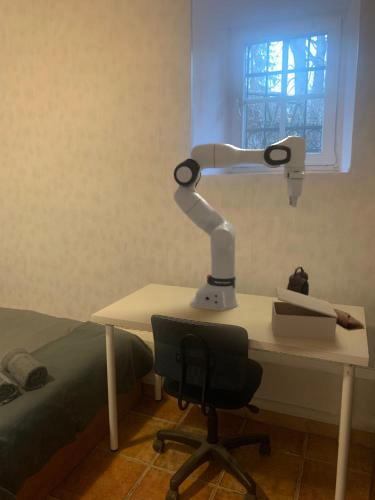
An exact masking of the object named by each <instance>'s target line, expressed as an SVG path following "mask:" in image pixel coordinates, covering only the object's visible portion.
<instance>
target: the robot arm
mask: <svg viewBox="0 0 375 500" xmlns="http://www.w3.org/2000/svg"><path fill="white" fill-rule="evenodd" d="M306 158H307V144H306V139H304V137H302V136H299V135H289V136H287V137H285V138H284V139H282V140H280V141H279V142H275V143H272V144H269V145H268V146H267V147H266V148H264V149H244V148H243V149H242V148H239V147H236V146H235V145H232V144H228V143H222V142H221V143H219V142H210V143H203V144H202V143H201V144H198V145H195V146H193V148H192V149H191V151H190V157H189V158H187V159H184V161H182V162H179V164H178V165H176V167H175V168H174V171H173V179H174V181H175V183H177V185H178V188H177V189H175V191H174V194H173V199H174V201H175V203H176V204H177V206H178V207H179V209H180V210H181V211H182V213H184V215H186V217H188V218H189V220H191V222H193V223H194V224H195V225H196V227H198V228H199V229H200V230H202V231H203V232H204V233H206V235H208V236H209V237H210V257H211V267H210V268H211V272H210V273H211V274H210V273H208V274H207V275H206V283H205V284H203V285H202V286H201V287H200V288H198V289H197V291H196V293H195V297H193V298H192V299H191V300H190V303H189V304H190V306H191V307H192V308H198V309H207V310H213V311H225V310H230V309H234V308H236V307H237V306H238V301H237V297H236V284H237V283H236V276H235V274H236V273H235V271H236V237H237V236H236V235H237V232H236V229H235V227H234V226H233V225H232V224H231V222H229V221H228V220H227V219H226V218H225V217H224V216H222V214H220V213H219V212H218V211H217V210H216V209H215V208H213V207H212V205H210V204H209V203H208V202H207V201H206V199H205V198H204V197H202V196H201V194H200V193H198V191H197V190H196V188H197V185H198V184H199V182H200V180H201V177H202V171H203V170H205V169H225V168H230V167H234V166H238V165H242V164H243V165H245V164H250V165H251V164H253V165H254V164H256V165H257V164H260V165H263V166H266V167H268V168H271V169H277V168H279V167H281V166H283V167H284V170H283V171H284V172H283V179H286V183H287V184H286V195H288V204H289V206H291V207H292V208H297V203H298V199H299V198H300V197H301V195H302V190H303V182H304V179H305V178H306V162H305V160H306ZM298 197H299V198H298Z"/></svg>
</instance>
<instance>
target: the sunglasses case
mask: <svg viewBox="0 0 375 500" xmlns="http://www.w3.org/2000/svg"><path fill="white" fill-rule="evenodd" d="M332 308H333V309H334V311H335V313H336V314H337V316H338V317H337V320H336V323H337V324H339V325H340V326H342V327H344V328H345V329H347V330H359V329H362V328H364V327H365V325H364V324H363V323H362V322H361V321H359V319H356V318H355V317H354V316H352V315H351V314H350V313H348V312H345V311H343V310H340V309H337V308H334V307H332Z"/></svg>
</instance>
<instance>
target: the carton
mask: <svg viewBox="0 0 375 500" xmlns="http://www.w3.org/2000/svg"><path fill="white" fill-rule="evenodd" d="M336 320H337V318H336V317H333V316H330V315H326V314H323V313H320V312H316V311H313V310H310V309H306V308H303V307H300V306H296V305H293V304H290V303H286V302H283V301H275V300H273V301H272V305H271V327H272V332H273V337H280V338H291V339H292V338H294V339H308V340H319V341H321V340H322V341H334V342H335V341H336V333H337V330H336V329H337V322H336Z"/></svg>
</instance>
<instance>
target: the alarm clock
mask: <svg viewBox="0 0 375 500" xmlns="http://www.w3.org/2000/svg"><path fill="white" fill-rule="evenodd" d="M299 270H300V271H299ZM308 280H309V275H308V273H307V272H306V271H305V269H303V267H302V266H297V267H296V268H295V269H294V273H293V274H291V275H290V276H289V278H288V283H287V287H286V289H287V290H290V291H293V292H297V293H300V294H304V295H307V296H309V291H310V285H309V282H308Z"/></svg>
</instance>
